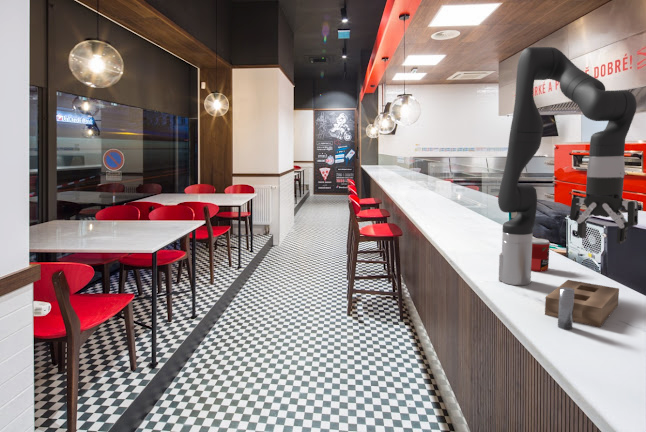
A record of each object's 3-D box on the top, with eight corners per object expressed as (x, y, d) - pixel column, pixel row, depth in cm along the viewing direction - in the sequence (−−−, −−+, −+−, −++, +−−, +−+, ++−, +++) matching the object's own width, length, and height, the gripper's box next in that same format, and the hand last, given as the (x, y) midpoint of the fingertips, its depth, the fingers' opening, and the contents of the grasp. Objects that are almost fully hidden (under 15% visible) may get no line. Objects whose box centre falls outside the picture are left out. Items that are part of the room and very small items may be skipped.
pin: (555, 327, 107) (558, 289, 105) (559, 323, 109) (562, 286, 108) (570, 330, 105) (572, 292, 103) (573, 326, 107) (576, 289, 105)
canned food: (545, 273, 152) (546, 243, 151) (521, 269, 158) (523, 240, 156) (550, 268, 158) (552, 239, 156) (528, 265, 163) (529, 237, 162)
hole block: (544, 314, 115) (545, 296, 115) (567, 295, 129) (568, 279, 128) (600, 327, 106) (601, 308, 105) (617, 305, 120) (619, 288, 119)
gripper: (566, 175, 106) (563, 238, 109) (632, 176, 94) (627, 247, 97) (581, 173, 110) (578, 234, 113) (646, 175, 98) (640, 242, 101)
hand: (600, 240), depth 105 cm, fingers open, 8 cm apart
